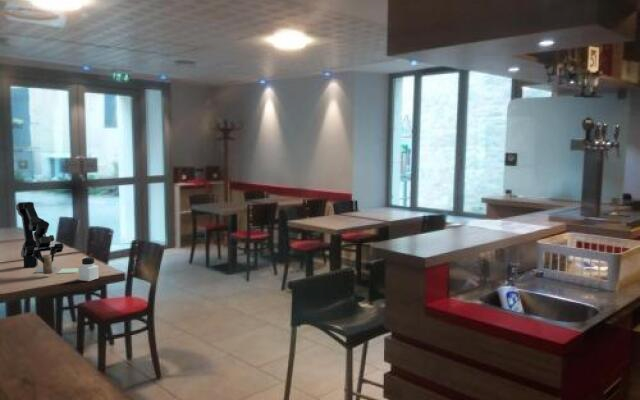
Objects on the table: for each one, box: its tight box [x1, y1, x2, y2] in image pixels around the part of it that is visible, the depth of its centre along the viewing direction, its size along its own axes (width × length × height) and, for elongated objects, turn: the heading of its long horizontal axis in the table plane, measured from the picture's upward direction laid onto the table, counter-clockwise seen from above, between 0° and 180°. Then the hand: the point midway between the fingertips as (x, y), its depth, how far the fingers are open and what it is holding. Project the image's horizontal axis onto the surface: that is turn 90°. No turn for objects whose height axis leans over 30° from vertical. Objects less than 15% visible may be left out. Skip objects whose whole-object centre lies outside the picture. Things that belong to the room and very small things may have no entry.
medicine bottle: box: [77, 256, 99, 282], centre depth 272 cm, size 7×7×12 cm
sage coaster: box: [57, 267, 79, 275], centre depth 289 cm, size 10×10×1 cm
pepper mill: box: [42, 254, 53, 275], centre depth 277 cm, size 4×4×10 cm
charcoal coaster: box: [33, 267, 58, 274], centre depth 291 cm, size 10×10×1 cm
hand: (48, 261), depth 276 cm, fingers closed on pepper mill, 4 cm apart
